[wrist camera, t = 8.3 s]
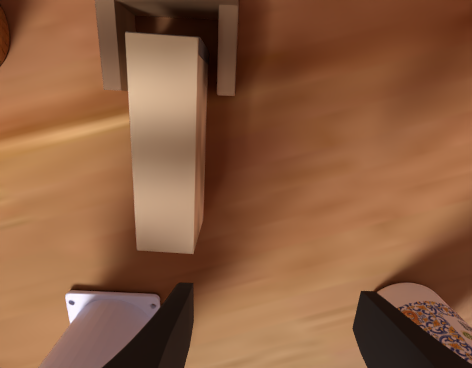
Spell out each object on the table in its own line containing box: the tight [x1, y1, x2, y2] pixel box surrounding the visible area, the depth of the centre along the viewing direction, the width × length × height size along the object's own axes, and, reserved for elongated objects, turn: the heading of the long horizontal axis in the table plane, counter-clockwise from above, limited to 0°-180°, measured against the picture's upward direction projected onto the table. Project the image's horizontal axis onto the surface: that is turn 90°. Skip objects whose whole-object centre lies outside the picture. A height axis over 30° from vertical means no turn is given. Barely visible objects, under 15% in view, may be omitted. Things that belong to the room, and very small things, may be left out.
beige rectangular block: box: [125, 31, 209, 254], centre depth 17 cm, size 12×4×5 cm, turn 176°
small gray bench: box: [95, 0, 239, 96], centre depth 14 cm, size 6×8×8 cm
